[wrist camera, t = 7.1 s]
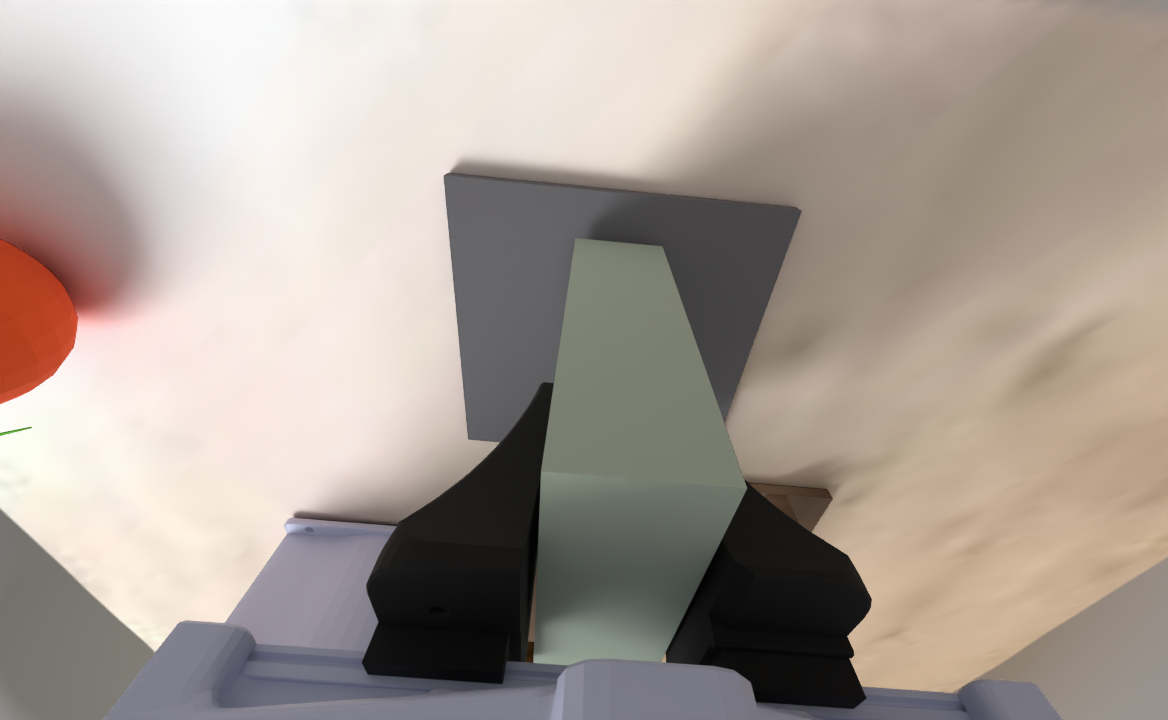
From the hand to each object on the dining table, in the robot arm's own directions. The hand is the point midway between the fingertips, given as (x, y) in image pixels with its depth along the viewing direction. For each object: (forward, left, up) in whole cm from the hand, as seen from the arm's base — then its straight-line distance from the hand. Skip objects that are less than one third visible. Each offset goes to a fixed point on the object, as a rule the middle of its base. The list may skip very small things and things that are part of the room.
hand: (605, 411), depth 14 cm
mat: (0, 0, -5) cm, 5 cm away
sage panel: (0, 0, -4) cm, 4 cm away
